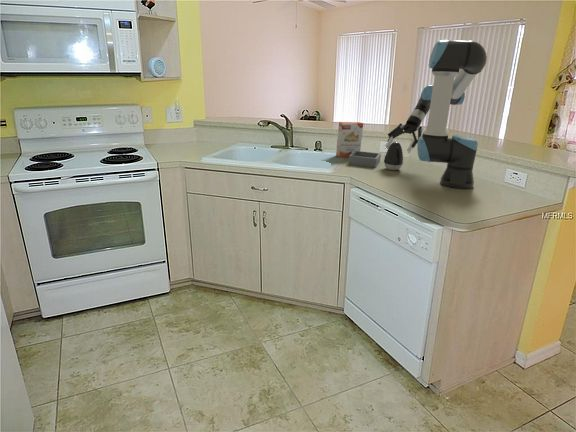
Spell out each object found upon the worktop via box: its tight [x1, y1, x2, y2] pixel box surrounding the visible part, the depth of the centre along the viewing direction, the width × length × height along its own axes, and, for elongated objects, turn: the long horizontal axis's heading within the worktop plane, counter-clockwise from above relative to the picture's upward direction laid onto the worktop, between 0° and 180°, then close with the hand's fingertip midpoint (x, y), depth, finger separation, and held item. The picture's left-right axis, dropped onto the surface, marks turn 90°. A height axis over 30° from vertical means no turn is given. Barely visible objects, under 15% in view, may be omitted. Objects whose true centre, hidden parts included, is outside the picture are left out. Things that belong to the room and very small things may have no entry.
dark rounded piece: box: [383, 141, 404, 171], centre depth 214 cm, size 10×10×15 cm
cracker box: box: [335, 121, 364, 158], centre depth 241 cm, size 14×6×21 cm, turn 105°
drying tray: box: [348, 150, 382, 168], centre depth 228 cm, size 16×16×5 cm
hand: (397, 149), depth 216 cm, fingers open, 13 cm apart
